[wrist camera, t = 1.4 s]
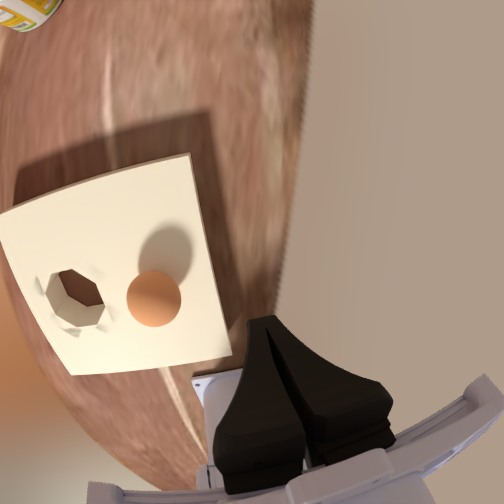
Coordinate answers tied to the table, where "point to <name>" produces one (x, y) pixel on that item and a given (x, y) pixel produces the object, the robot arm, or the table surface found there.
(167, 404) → the table surface
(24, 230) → the hole board
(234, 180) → the table surface
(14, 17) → the supplement bottle
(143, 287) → the ball
